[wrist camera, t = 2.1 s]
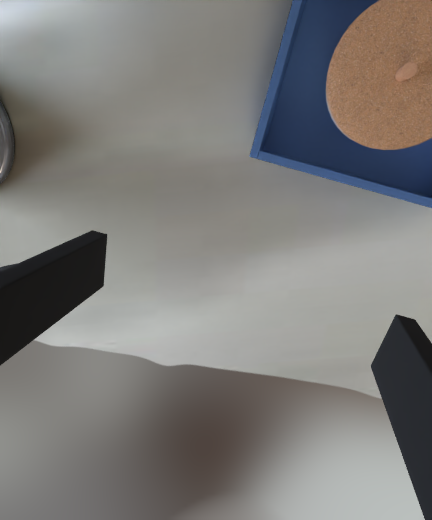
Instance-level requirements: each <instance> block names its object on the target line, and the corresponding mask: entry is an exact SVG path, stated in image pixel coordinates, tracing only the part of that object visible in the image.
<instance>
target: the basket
mask: <svg viewBox="0 0 432 520" xmlns="http://www.w3.org/2000/svg"><path fill="white" fill-rule="evenodd" d="M377 1H379V0H293V2H292V5H291V9H290V13H289V16H288V20H287V23H286V27H285V31H284V34H283V38H282V41H281V45H280V49H279V52H278V56H277V59H276V63H275V66H274V70H273V74H272V77H271V81H270V84H269V88H268V92H267V95H266V99H265V102H264V106H263V110H262V113H261V117H260V120H259V124H258V128H257V131H256V135H255V138H254V142H253V146H252V149H251V153H250V157H252V158H256V159H259V160H263V161H267V162H270V163H274V164H277V165H281V166H284V167H288V168H291V169H295V170H299V171H302V172H306V173H309V174H313V175H316V176H320V177H323V178H327V179H330V180H334V181H338V182H341V183H345V184H348V185H352V186H355V187H359V188H362V189H366V190H370V191H373V192H377V193H380V194H384V195H387V196H391V197H394V198H398V199H402V200H405V201H409V202H412V203H416V204H419V205H423V206H426V207H430V208H432V138H431V139H429V140H427V141H425V142H422V143H420V144H418V145H415V146H411V147H408V148H403V149H397V150H380V149H374V148H369V147H366V146H363V145H361V144H359V143H357V142H355V141H353V140H351V139H349V138H348V137H347V136H345V135H344V134H343V133H342V132H341V131H340V130H339V129H338V128H337V126H336V125H335V123H334V122H333V120H332V118H331V116H330V113H329V111H328V107H327V102H326V79H327V73H328V69H329V64H330V61H331V58H332V56H333V53H334V50H335V48H336V47H337V45H338V43H339V41H340V39H341V37H342V36H343V34H344V33H345V32H346V30H347V29H348V27H349V26H350V25H351V24H352V23H353V21H354V20H355V19H356V18H357V17H358V16H359V15H360V14H361V13H363V12H364V11H365V10H366V9H367V8H369V7H370V6H371V5H373V4H374V3H376V2H377Z"/></svg>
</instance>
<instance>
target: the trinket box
mask: <svg viewBox="0 0 432 520" xmlns="http://www.w3.org/2000/svg"><path fill="white" fill-rule="evenodd" d="M326 102H327V107H328V111H329V113H330V116H331V118H332V120H333V122H334V123H335V125H336V126H337V128H338V129H339V130H340V131H341V132H342V133H343V134H344V135H345V136H347V137H348V138H349V139H351V140H353V141H355V142H357V143H359V144H361V145H363V146H366V147H369V148H374V149H380V150H397V149H403V148H408V147H411V146H415V145H418V144H420V143H422V142H425V141H427V140H429V139H431V138H432V0H379V1H377V2H376V3H374V4H373V5H371V6H370V7H369V8H367V9H366V10H365V11H364V12H363V13H361V14H360V15H359V16H358V17H357V18H356V19H355V20H354V21H353V23H352V24H351V25H350V26H349V27H348V29H347V30H346V32H345V33H344V34H343V36H342V37H341V39H340V41H339V43H338V45H337V47H336V48H335V50H334V53H333V56H332V58H331V61H330V64H329V69H328V73H327V79H326Z"/></svg>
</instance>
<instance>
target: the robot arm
mask: <svg viewBox="0 0 432 520" xmlns="http://www.w3.org/2000/svg"><path fill="white" fill-rule="evenodd" d="M13 159H14V136H13V131H12V127H11V123H10V120H9V118H8V115H7V113H6V111H5V109H4V107H3V105H2V103H1V102H0V184H1V183H2V182H3V181H4V180H5V178H6V177H7V175H8V174H9V172H10V170H11V167H12V164H13ZM106 245H107V234H103V233H100V232H96V231H93V230H92V231H90V232H88V233H85V234H83V235H81V236H79V237H77V238H74V239H72V240H70V241H68V242H65V243H63V244H61V245H59V246H56V247H54V248H52V249H50V250H47V251H45V252H43V253H41V254H39V255H36V256H34V257H32V258H30V259H27V260H25V261H23V262H21V263H18V264H13V265H8V266H4V267H0V365H1V364H3V363H4V362H5V361H7V360H8V359H9V358H11V357H12V356H13V355H14V354H16V353H17V352H18V351H20V350H21V349H22V348H24V347H25V346H26V345H27V344H29V343H30V342H31V341H33V340H34V339H35V338H37V337H38V336H39V335H40V334H42V333H43V332H44V331H46V330H47V329H48V328H50V327H51V326H52V325H53V324H55V323H56V322H57V321H59V320H60V319H61V318H63V317H64V316H65V315H66V314H68V313H69V312H70V311H72V310H73V309H74V308H76V307H77V306H78V305H79V304H81V303H82V302H83V301H85V300H86V299H87V298H89V297H90V296H91V295H92V294H94V293H95V292H96V291H98V290H99V289H100V288H102V287H103V285H104V272H105V258H106ZM371 368H372V371H373V374H374V377H375V380H376V382H377V385H378V388H379V391H380V394H381V397H382V399H383V402H384V405H385V408H386V411H387V413H388V416H389V419H390V422H391V425H392V428H393V431H394V433H395V436H396V438H397V442H398V445H399V447H400V450H401V453H402V456H403V459H404V462H405V464H406V467H407V470H408V473H409V476H410V478H411V481H412V484H413V487H414V490H415V493H416V495H417V498H418V501H419V504H420V507H421V510H422V512H423V515H424V518H425V520H432V343H431V342H430V340H429V339H428V338H427V336H426V335H425V333H424V332H423V330H422V329H421V327H420V326H419V325H418V323H417V322H416V320H415V319H411V318H407V317H404V316H400V315H395V317H394V319H393V321H392V323H391V326H390V328H389V330H388V332H387V334H386V336H385V338H384V340H383V342H382V344H381V346H380V348H379V350H378V352H377V354H376V356H375V358H374V360H373V362H372V364H371Z"/></svg>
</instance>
